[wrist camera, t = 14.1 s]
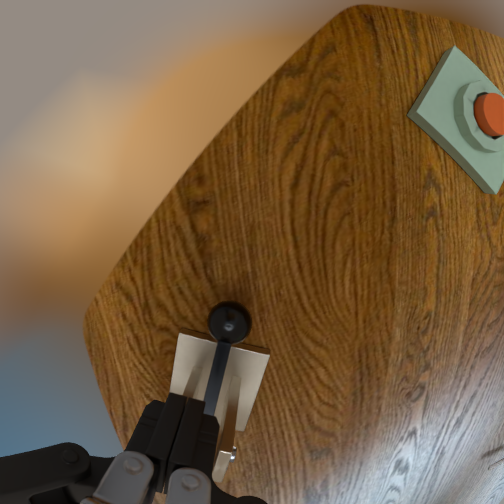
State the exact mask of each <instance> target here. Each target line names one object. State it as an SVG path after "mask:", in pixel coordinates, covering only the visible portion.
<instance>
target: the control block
mask: <svg viewBox="0 0 504 504" xmlns="http://www.w3.org/2000/svg"><path fill="white" fill-rule="evenodd" d="M488 93H497V94H499V95H500V96H502V97H503V98H504V96H503V94H502V93H501V92H500V91H499V90H498V89H497V88H496V86H495V85H493V83H492V82H491V81H490V80H489V79H488V78H487V77H486V76H485V75H484V74H483V73H482V72H481V71H480V69H479V68H478V67H477V66H476V65H475V64H474V63H473V62H472V61H471V60H470V59H469V58H468V57H467V56H466V55H464V54H463V53H462V52H461V51H460V50H459V49H458V48H457V47H456V46H455V45H454V46H453V47H451V48H450V49H448V50H447V51H445V52H444V54H443V56H442V58H441V59H440V61H439V63H438V64H437V66H436V68H435V70H434V71H433V73H432V75H431V76H430V78H429V80H428V81H427V83H426V85H425V86H424V88H423V90H422V91H421V93H420V95H419V96H418V98H417V100H416V101H415V103H414V104H413V106H412V108H411V109H410V111H409V113H408V114H407V116H408V117H409V118H410V119H411V120H413V121H414V122H415V123H416V124H417V125H418V126H419V127H420V128H422V129H423V130H424V131H425V132H426V133H427V134H428V135H429V136H430V137H431V138H432V139H433V140H434V141H436V142H437V143H438V144H439V145H440V146H441V147H442V148H443V149H444V150H445V151H446V152H447V153H448V154H449V155H450V156H451V157H452V158H453V159H454V160H455V161H456V162H457V163H458V164H459V165H460V166H461V168H462V169H463V170H464V171H465V172H466V173H467V174H468V175H469V176H470V177H471V178H472V179H473V180H474V182H475V183H476V184H477V185H478V186H479V187H480V188H481V190H482V191H483V192H484V193H488V194H497V192H498V190H499V188H500V186H501V184H502V182H503V180H504V135H499V136H489V135H487V134H485V133H484V132H483V131H482V130H481V129H480V127H479V126H478V124H477V122H476V120H475V116H474V103H475V101H476V99H477V98H478V97H480V96H482V95H485V94H488Z"/></svg>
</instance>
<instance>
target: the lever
mask: <svg viewBox="0 0 504 504" xmlns="http://www.w3.org/2000/svg"><path fill="white" fill-rule="evenodd" d="M207 326H208V330H209V332H210V334H211V336H212V337H213V338H214V339H215V340H216V341H218V343H217V347H216V351H215V355H214V359H213V363H212V367H211V371H210V375H209V379H208V383H207V387H206V391H205V395H204V400H203V401H206V404H205V409H204V414H208V415H212V416H214V413H215V409H216V405H217V401H218V397H219V393H220V389H221V385H222V381H223V377H224V373H225V369H226V365H227V361H228V357H229V353H230V349H231V345H234V344H238V343H240V342H242V341H243V340H245V339H246V338H247V336H248V335H249V333H250V331H251V328H252V317H251V314H250V312H249V310H248V309H247V308H246V307H245V306H244V305H243V304H241V303H239V302H237V301H232V300H227V301H222V302H220V303H218V304H217V305H215V306H214V307H213V308H212V309H211V311H210V313H209V315H208V319H207Z"/></svg>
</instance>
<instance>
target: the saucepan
mask: <svg viewBox="0 0 504 504" xmlns="http://www.w3.org/2000/svg"><path fill="white" fill-rule="evenodd" d="M502 463H504V458H503V459H501V460H500V461H498V462H496V463H494V464H492V465H491V466H490V467H489V468H488V470H491V469H493V468H495V467H497V466H499V465H500V464H502Z"/></svg>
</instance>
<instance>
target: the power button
mask: <svg viewBox="0 0 504 504" xmlns="http://www.w3.org/2000/svg"><path fill="white" fill-rule="evenodd" d="M474 116H475V120H476V122H477V124H478V126H479V127H480V129H481V130H482V131H483V132H484V133H485V134H487V135H489V136H499V135H504V98H503V97H502V96H500V95H499V94H497V93H488V94H485V95H482V96H480V97H478V98H477V99H476V101H475V103H474Z"/></svg>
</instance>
